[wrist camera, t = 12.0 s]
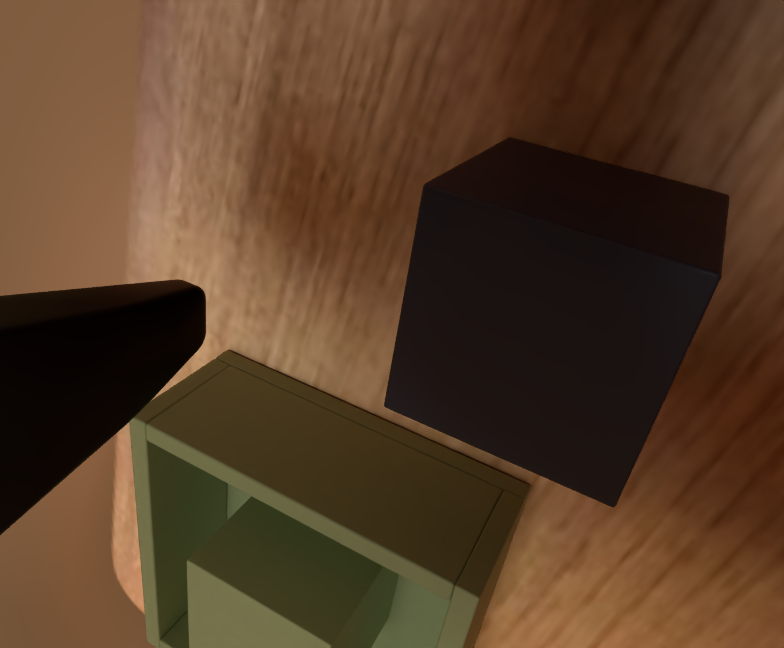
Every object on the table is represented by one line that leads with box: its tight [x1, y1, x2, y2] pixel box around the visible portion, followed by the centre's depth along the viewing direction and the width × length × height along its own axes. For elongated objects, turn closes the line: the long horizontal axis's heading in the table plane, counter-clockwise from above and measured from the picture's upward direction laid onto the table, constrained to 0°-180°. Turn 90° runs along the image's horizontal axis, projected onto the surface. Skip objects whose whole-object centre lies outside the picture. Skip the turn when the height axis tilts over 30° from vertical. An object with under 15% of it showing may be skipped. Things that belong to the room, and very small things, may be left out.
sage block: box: [187, 496, 399, 648], centre depth 19 cm, size 4×4×4 cm
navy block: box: [384, 137, 729, 507], centre depth 12 cm, size 4×4×4 cm
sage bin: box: [129, 351, 530, 648], centre depth 20 cm, size 10×10×4 cm
